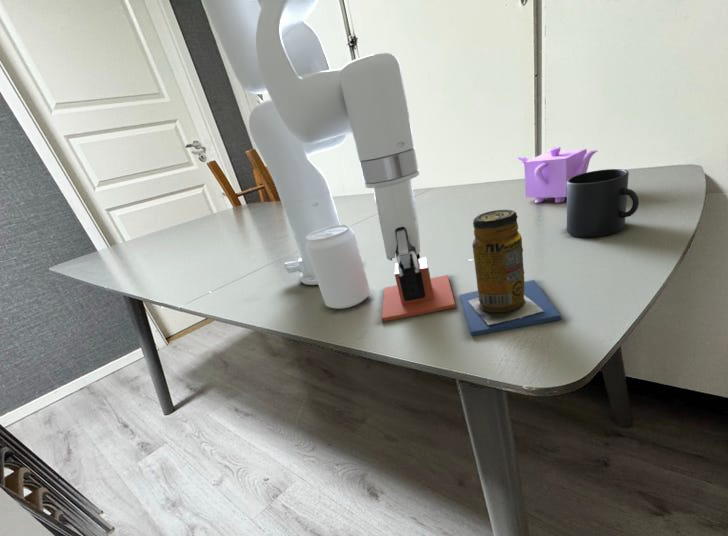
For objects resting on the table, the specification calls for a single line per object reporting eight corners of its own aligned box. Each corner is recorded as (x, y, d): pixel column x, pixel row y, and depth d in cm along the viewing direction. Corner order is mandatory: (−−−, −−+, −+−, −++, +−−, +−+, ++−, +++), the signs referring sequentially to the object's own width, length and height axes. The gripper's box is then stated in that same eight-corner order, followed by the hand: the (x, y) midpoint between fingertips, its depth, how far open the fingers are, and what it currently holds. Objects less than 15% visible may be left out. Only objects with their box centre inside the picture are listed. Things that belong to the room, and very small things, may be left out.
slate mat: (471, 336, 51) (470, 332, 50) (460, 298, 61) (459, 294, 61) (560, 319, 49) (560, 315, 49) (534, 283, 60) (533, 279, 59)
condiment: (516, 289, 58) (510, 203, 52) (543, 312, 51) (540, 215, 44) (468, 302, 58) (456, 217, 52) (488, 327, 50) (477, 232, 44)
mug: (619, 242, 66) (623, 183, 61) (555, 235, 75) (555, 184, 70) (650, 223, 69) (657, 167, 65) (586, 219, 78) (588, 169, 74)
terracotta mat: (382, 321, 60) (381, 318, 59) (385, 290, 70) (384, 287, 70) (455, 307, 58) (455, 303, 58) (448, 278, 69) (447, 274, 68)
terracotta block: (401, 304, 62) (394, 274, 59) (402, 292, 66) (395, 263, 64) (433, 298, 61) (428, 267, 59) (431, 286, 66) (426, 256, 63)
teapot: (526, 210, 92) (523, 159, 87) (518, 198, 104) (516, 152, 98) (597, 197, 89) (599, 143, 84) (582, 186, 100) (583, 137, 95)
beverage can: (352, 312, 65) (330, 239, 59) (316, 309, 69) (292, 241, 63) (380, 291, 70) (362, 222, 64) (345, 289, 75) (325, 224, 69)
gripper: (367, 167, 62) (392, 271, 71) (356, 186, 47) (389, 314, 56) (415, 155, 61) (434, 263, 70) (419, 171, 47) (442, 304, 55)
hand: (414, 286), depth 63 cm, fingers open, 9 cm apart
